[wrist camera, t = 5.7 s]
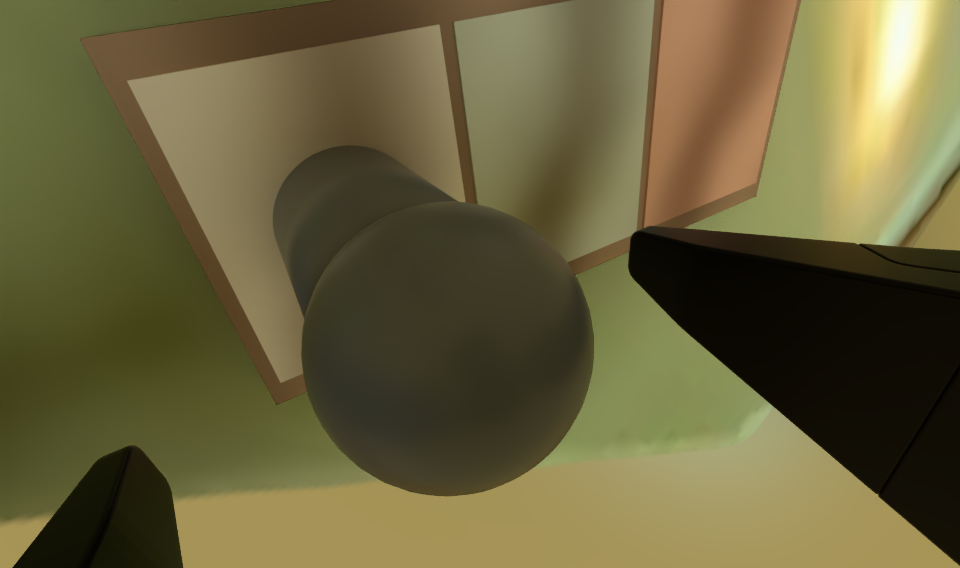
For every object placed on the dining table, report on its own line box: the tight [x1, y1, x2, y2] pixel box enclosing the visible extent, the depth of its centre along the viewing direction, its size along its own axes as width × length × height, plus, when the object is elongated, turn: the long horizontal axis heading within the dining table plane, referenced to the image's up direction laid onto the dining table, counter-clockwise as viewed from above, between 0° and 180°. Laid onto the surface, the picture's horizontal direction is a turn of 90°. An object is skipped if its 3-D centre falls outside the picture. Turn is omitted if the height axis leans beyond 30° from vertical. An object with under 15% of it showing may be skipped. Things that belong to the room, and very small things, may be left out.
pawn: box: [273, 145, 594, 496], centre depth 9 cm, size 5×5×9 cm
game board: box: [80, 0, 801, 405], centre depth 15 cm, size 22×10×1 cm, turn 98°
